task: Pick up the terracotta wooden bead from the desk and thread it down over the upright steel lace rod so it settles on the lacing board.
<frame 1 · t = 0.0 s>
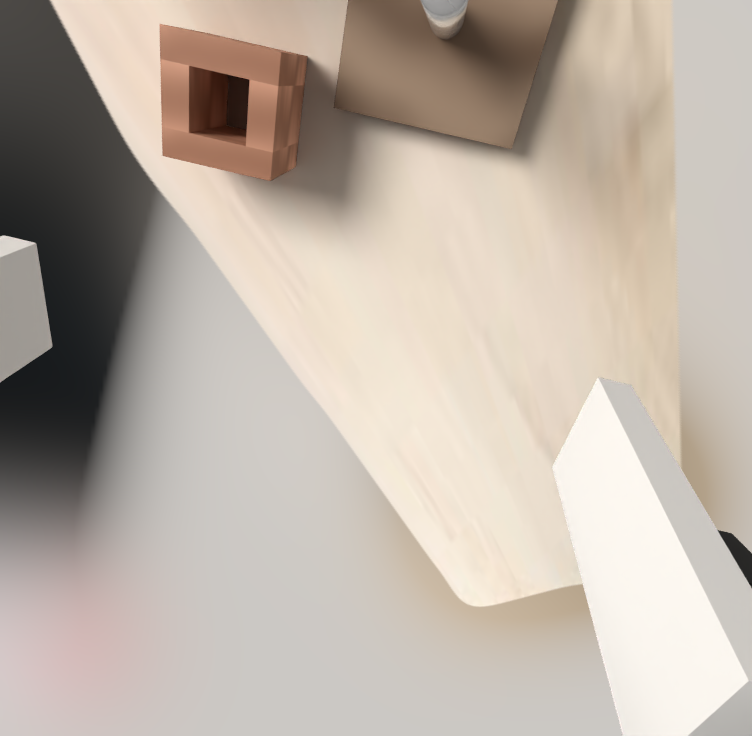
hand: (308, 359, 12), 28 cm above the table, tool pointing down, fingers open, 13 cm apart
bead: (252, 103, 35), on the table
lacing board: (446, 22, 31), on the table
lace rod: (445, 5, 24), on the lacing board, point 8 cm above the table
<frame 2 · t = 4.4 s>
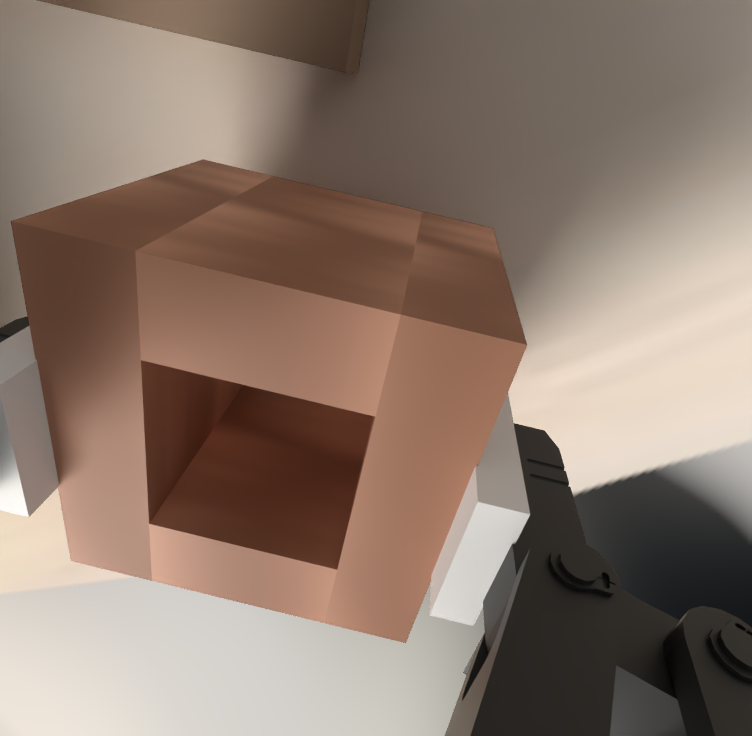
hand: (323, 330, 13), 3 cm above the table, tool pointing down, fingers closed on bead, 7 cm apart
bead: (325, 325, 14), point 2 cm above the table, touching gripper
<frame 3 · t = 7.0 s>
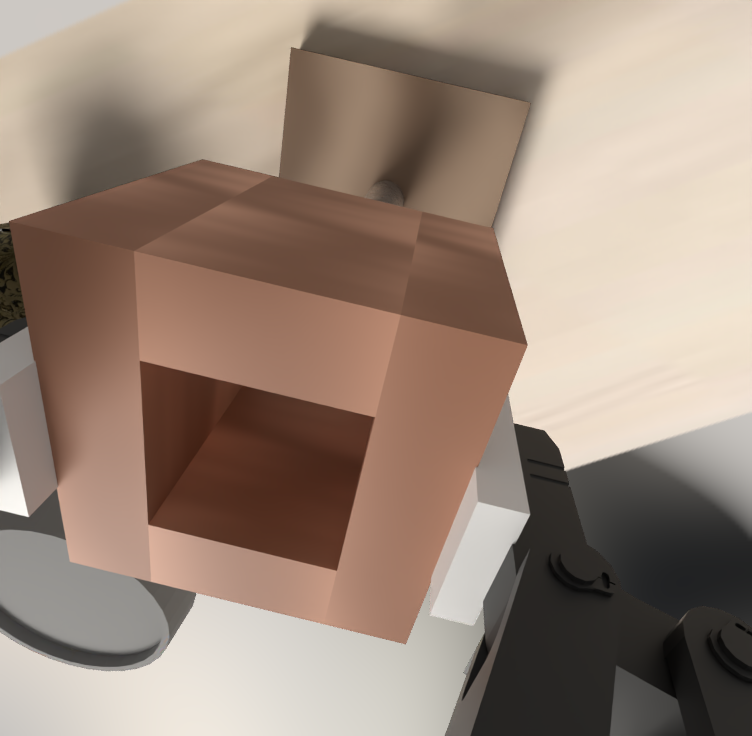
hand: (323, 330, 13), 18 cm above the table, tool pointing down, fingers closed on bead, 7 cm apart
bead: (325, 325, 14), point 18 cm above the table, touching gripper
lacing board: (388, 193, 29), on the table
reusable coffee cup: (187, 436, 40), on the table
cup: (100, 253, 33), on the table
lace rod: (369, 230, 22), on the lacing board, point 8 cm above the table
when the fingers open (7 cm above the table, at t = 9.8 s): bead drops 5 cm, resting on lacing board.
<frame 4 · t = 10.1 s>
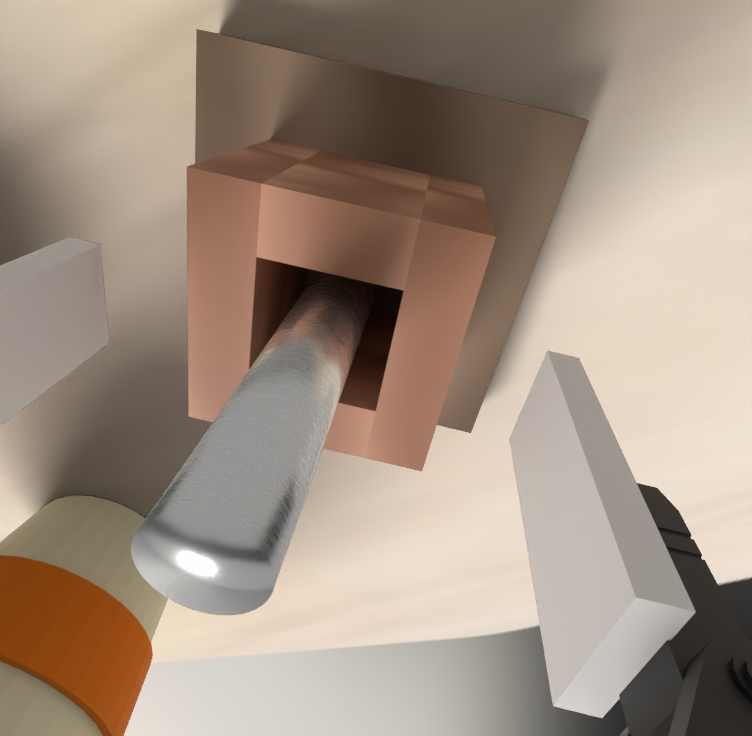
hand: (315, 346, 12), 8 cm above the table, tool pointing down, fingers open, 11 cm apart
bead: (357, 265, 18), point 2 cm above the table, touching lacing board
lacing board: (363, 251, 19), on the table
reusable coffee cup: (109, 546, 31), on the table
lace rod: (314, 348, 12), on the lacing board, point 8 cm above the table
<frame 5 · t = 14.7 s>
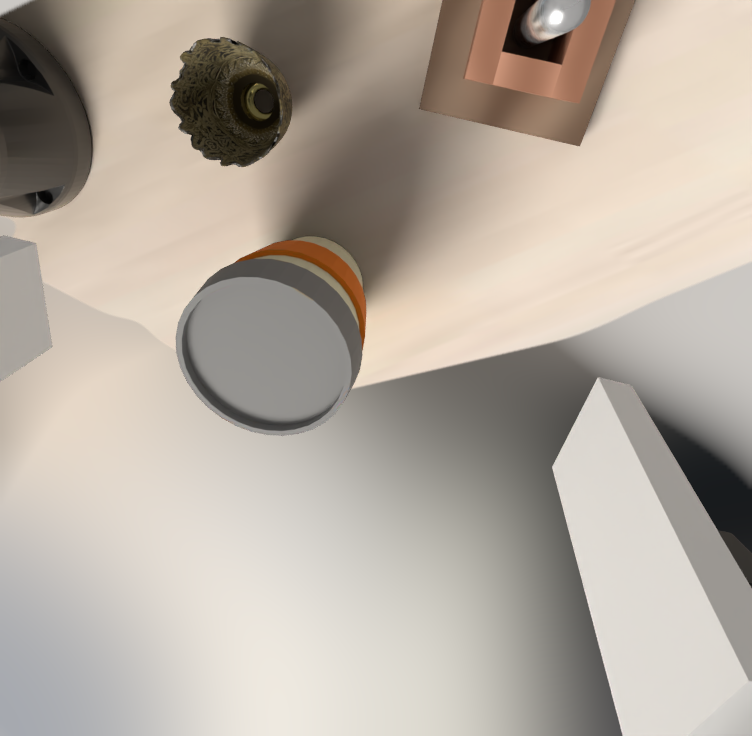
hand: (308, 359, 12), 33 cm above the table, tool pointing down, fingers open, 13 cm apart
bead: (528, 30, 33), point 2 cm above the table, touching lacing board
lacing board: (525, 32, 35), on the table
reusable coffee cup: (315, 283, 46), on the table
cup: (265, 101, 39), on the table
lace rod: (543, 20, 28), on the lacing board, point 8 cm above the table
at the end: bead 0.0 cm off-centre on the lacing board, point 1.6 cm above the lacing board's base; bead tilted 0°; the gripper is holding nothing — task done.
